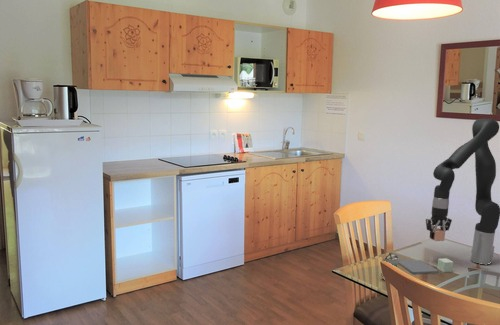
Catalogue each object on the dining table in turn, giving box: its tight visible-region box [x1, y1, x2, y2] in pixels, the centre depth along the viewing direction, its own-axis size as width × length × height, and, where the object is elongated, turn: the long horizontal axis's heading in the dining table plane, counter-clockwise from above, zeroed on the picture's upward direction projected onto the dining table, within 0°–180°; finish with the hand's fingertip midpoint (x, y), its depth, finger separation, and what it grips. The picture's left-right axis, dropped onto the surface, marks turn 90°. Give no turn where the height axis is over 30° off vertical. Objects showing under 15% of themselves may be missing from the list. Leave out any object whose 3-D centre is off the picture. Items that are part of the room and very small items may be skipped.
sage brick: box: [436, 257, 454, 273], centre depth 216 cm, size 5×5×5 cm
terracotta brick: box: [429, 227, 446, 242], centre depth 223 cm, size 5×5×5 cm
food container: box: [381, 251, 401, 277], centre depth 203 cm, size 12×6×10 cm, turn 148°
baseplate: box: [398, 259, 439, 275], centre depth 217 cm, size 14×14×1 cm
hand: (436, 238), depth 223 cm, fingers closed on terracotta brick, 5 cm apart
